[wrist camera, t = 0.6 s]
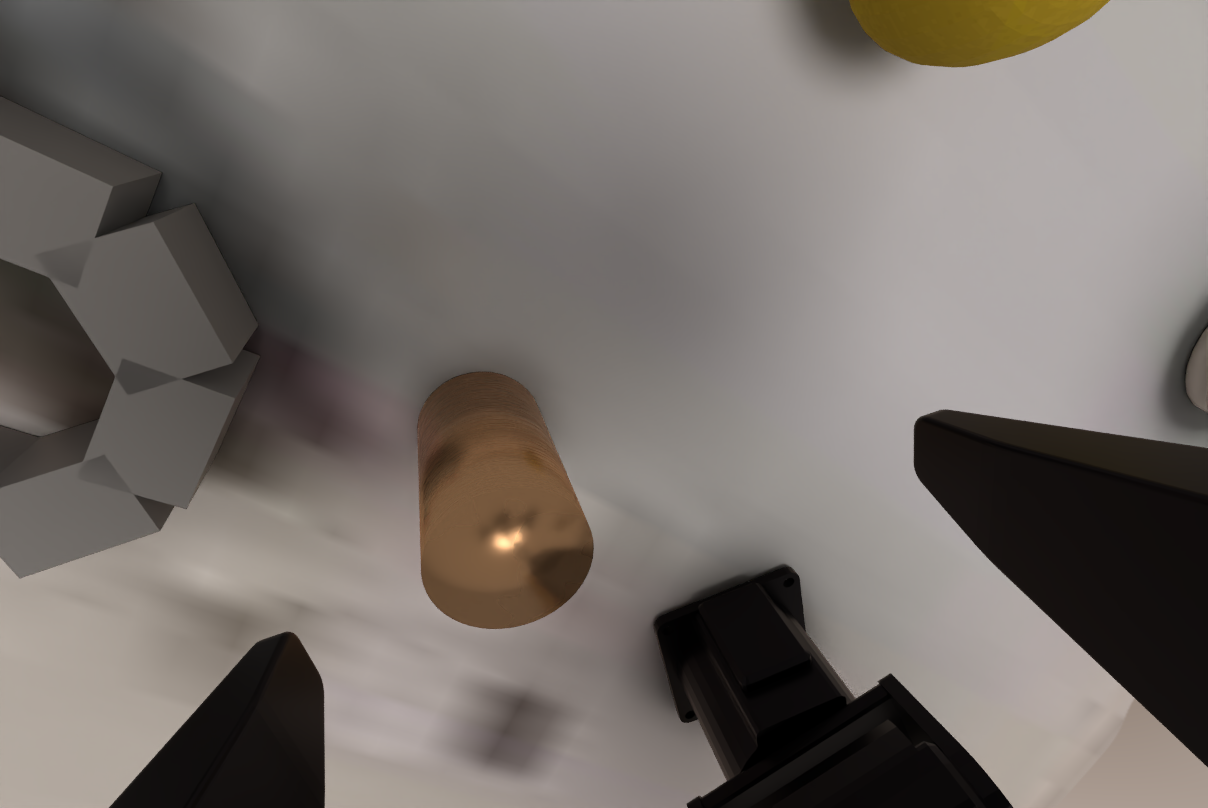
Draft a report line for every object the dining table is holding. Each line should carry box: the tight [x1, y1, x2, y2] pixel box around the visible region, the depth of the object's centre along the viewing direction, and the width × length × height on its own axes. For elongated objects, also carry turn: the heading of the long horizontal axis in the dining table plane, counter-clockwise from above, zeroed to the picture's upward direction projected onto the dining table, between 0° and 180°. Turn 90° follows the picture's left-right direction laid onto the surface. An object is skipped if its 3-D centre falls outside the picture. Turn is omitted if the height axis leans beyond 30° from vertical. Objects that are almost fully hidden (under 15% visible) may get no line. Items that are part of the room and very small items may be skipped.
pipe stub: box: [417, 372, 594, 629], centre depth 18 cm, size 4×4×7 cm
